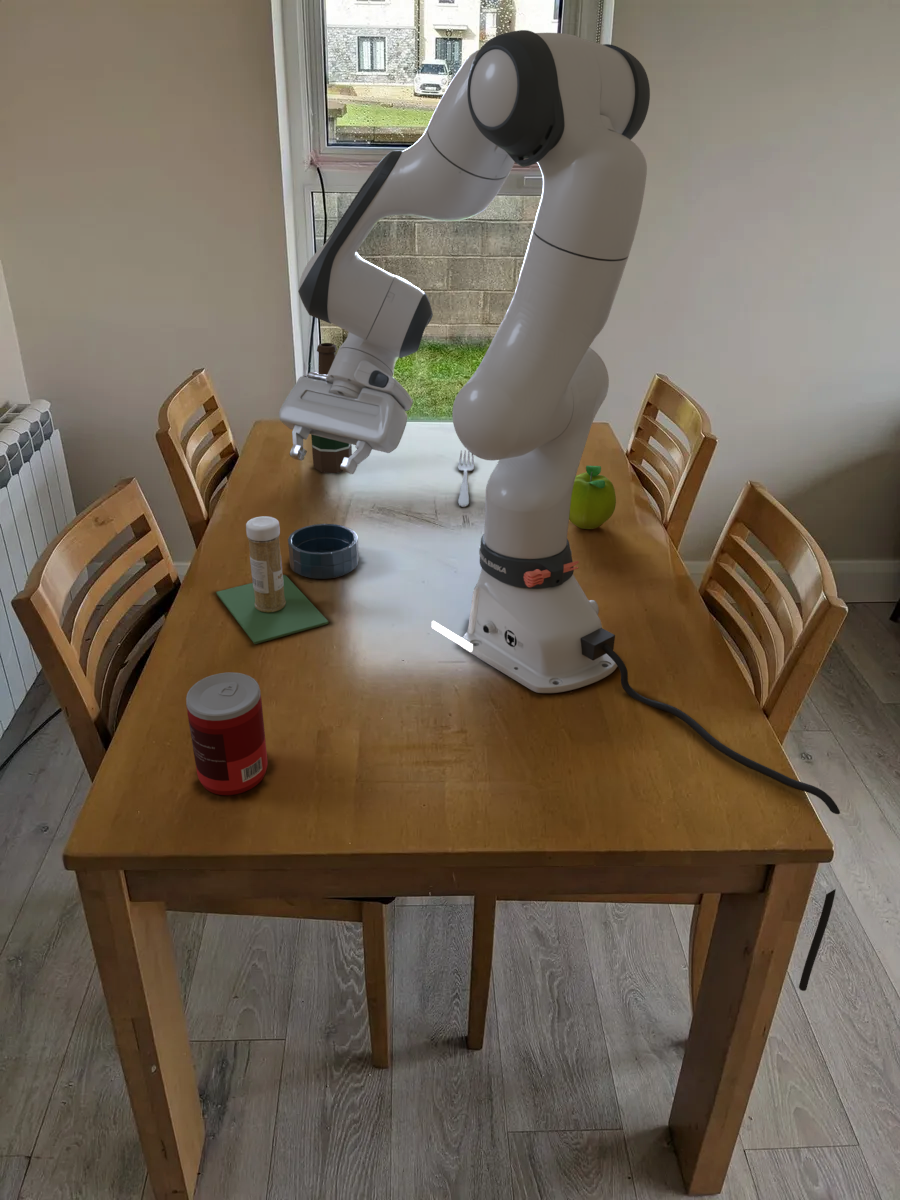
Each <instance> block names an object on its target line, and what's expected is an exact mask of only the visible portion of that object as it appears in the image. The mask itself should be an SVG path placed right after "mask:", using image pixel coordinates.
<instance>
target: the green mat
mask: <svg viewBox="0 0 900 1200" xmlns="http://www.w3.org/2000/svg"><path fill="white" fill-rule="evenodd" d="M283 582H284V585H283V587H284V597H285V601H286V604H285V606H284V608H282V609H281V610H279V611H276V612H269V613H267V612H262V611H259V610H257V609H256V608H255V595H254V588H253V582H251V583H247V584H243V585H238V586H234V587H231V588H226V589H222V590H218V591H216V592H215V593H216V595H217V597H218V598H219V600H220V601H221V602H222V603H223V605H224V606H225V608H226V609H227V610H228V611H229V613H230V614H231V615H232V616H233V618H234V619H235V621H236V622H237V623H238V624H239V626H240V627H241V628H242V630H243V631H244V632H245V634H246V635H247V636H248V638H249V639H250V640H251V641H252V643H253V644H254V645H257V644H261V643H264V642H267V641H268V642H269V641H271V640H275V639H279V638H284V637H286V636H290V635H294V634H297V633H300V632H304V631H307V630H311V629H314V628H318V627H322V626H325V625H328V624H329V620H328V619H327V618H326V617H325V616H324V615H323V614H322V612H320V611H319V610H318V609H317V608H316V606H315V605H314V604H313V603H312V601H310V600H309V599H308V598H307V596H306V595H305V594H304V593H303V592H302V591H301V590H300V589H299V588H298V586H296V584H294V583H293V581H292V580H291V579H290V578H289V577H288V576H287V575H286V574H283Z"/></svg>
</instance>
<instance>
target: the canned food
mask: <svg viewBox="0 0 900 1200" xmlns="http://www.w3.org/2000/svg"><path fill="white" fill-rule="evenodd" d="M261 693H262V692H261V689H260V685H259V682H258V681H257V680H256V679H255V678H254V677H252V676H250V675H248V674H246V673H245V674H244V673H241V672H221V673H216V674H212V675H209V676H206V677H204V678H202V679H199V680H198V681H197V682H195V683H194V684H193V685H192V686H191V687H190V688H189V690H188V691H187V693H186V696H185V697H186V699H185V701H186V702H185V703H186V704H185V705H186V711H187V719H188V725H189V732H190V738H191V745H192V750H193V756H194V757H193V758H194V762H195V768H196V775H197V778H198V780H199V782H200V784H201V785H202V787H203V788H204V789H205V790H206V791H208V792H210V793H212V794H214V795H220V796H234V795H239V794H242V793H245V792H247V791H250V790H251V789H253V788H255V787H256V786H257V785H258V784H260V783H261V782H262V781H263V779H264V777H265V775H266V772H267V769H268V764H269V763H268V752H267V743H266V733H265V732H266V731H265V723H264V712H263V703H262V694H261Z"/></svg>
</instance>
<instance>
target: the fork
mask: <svg viewBox="0 0 900 1200" xmlns="http://www.w3.org/2000/svg"><path fill="white" fill-rule="evenodd" d="M466 450H467V449H465V450H464V452H463V450H462V449H461V450H460V453H459V459H458V465H457V469H458V470H459V471H460V472H463V477H462V482H461V486H460V492H459V496H458V500H457V503H458V505H459V506H460V507H461V508H465V507H467V506H468V505H469V503H470V495H469V483H468V472H471V471H472V472H473V471H474V470H475V460H474V459H475V458H474V455H473V454H472V453H471V454H470V452H469V451H468V450H467V452H466ZM466 454H467V461H466ZM462 457H463V459H462ZM470 458H471V459H470ZM470 460H471V462H470ZM466 463H467V464H466Z"/></svg>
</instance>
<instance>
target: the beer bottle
mask: <svg viewBox="0 0 900 1200" xmlns="http://www.w3.org/2000/svg"><path fill="white" fill-rule="evenodd" d="M336 351H338V347H337V345H336V344H334V343H332V342H322V343H319V344H318V345H317V348H316V352H317V353H318V365H317V366H318V372H317V373H318V374H325V375H327V374H328V372H329V370H330V368H331V366H332V363H333V361H334V359H335V357H336V354H337V352H336ZM310 435H311V436H310V438H311V451H312V452H311V453H312V463H313V468H314V469H315V470H317V471H319V472H321V473H325V474H339V473H342V472H343V473H344V471H343V470H341V469H340V465H341V464H342V463H343V462H342V461H343V459H344V457H346V458H349V457H350V456H351V455H352V454H353V450H352V447H353V446H352V444H349V443H345V442H341V441H336V440H332V439H328V438H324V437H320V436H316V435H312V434H310Z"/></svg>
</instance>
